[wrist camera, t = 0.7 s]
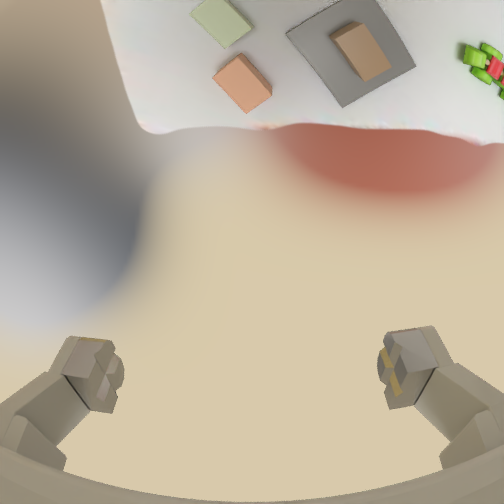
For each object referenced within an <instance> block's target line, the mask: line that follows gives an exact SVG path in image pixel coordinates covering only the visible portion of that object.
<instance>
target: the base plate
mask: <svg viewBox="0 0 504 504" xmlns="http://www.w3.org/2000/svg"><path fill="white" fill-rule="evenodd" d="M286 35H287V37H288V38H289V39H290V40H291V41H292V42H293V44H294V45H295V46H296V47H297V48H298V50H299V51H300V52H301V53H302V55H303V56H304V57H305V58H306V60H307V61H308V62H309V63H310V65H311V66H312V67H313V68H314V70H315V71H316V72H317V74H318V75H319V76H320V78H321V79H322V80H323V82H324V83H325V84H326V86H327V87H328V88H329V90H330V91H331V93H332V94H333V95H334V97H335V98H336V100H337V101H338V102H339V104H340V105H341V107H342V108H343V107H345V106H347V105H349V104H350V103H352V102H354V101H355V100H357V99H359V98H360V97H362V96H364V95H366V94H367V93H369V92H371V91H373V90H374V89H376V88H378V87H380V86H381V85H383V84H385V83H387V82H389V81H390V80H392V79H394V78H396V77H398V76H400V75H402V74H403V73H405V72H407V71H409V70H411V69H413V68H415V67H416V65H415V63H414V61H413V59H412V57H411V56H410V54H409V52H408V50H407V49H406V47H405V45H404V43H403V42H402V40H401V38H400V37H399V35H398V34H397V32H396V30H395V29H394V27H393V26H392V24H391V22H390V21H389V19H388V18H387V16H386V15H385V13H384V12H383V10H382V9H381V8H380V6H379V5H378V3H377V2H376V0H341V1H339V2H337V3H336V4H334V5H332V6H330V7H328V8H327V9H325V10H323V11H322V12H320V13H318V14H316V15H315V16H313V17H311V18H310V19H308V20H307V21H305V22H303V23H302V24H300V25H299V26H297V27H295V28H294V29H292V30H291V31H289V32H288V33H286Z"/></svg>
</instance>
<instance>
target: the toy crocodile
mask: <svg viewBox="0 0 504 504" xmlns="http://www.w3.org/2000/svg"><path fill="white" fill-rule="evenodd" d="M502 57H503V55H502V54H501V53H500V52H499V51H498V50H496V49H495V48H493V47H491V46H490V45H488V44H485V43H483V44H482V47H481V51H480V50H479V49H477V48H474V47H472V46H470V45H466V49H465V55H464V60H463V63H464V64H467V65H471V66H474V67H473V70H472V72H471V73H472V74H473V75H474V76H475V77H477V78H478V79H480V80H481V81H483V82H484V83H486V84H488V85H491V82H492V80H493V81H494V82H495V83H496V84H497V85H498V86H499V87H501V88H503V91H502V92H501V95H500V97H501V98H502V99H503V100H504V63H502V62H501V60H502Z"/></svg>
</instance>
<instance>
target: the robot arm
mask: <svg viewBox="0 0 504 504" xmlns="http://www.w3.org/2000/svg"><path fill="white" fill-rule="evenodd" d="M383 343H384V345H385V347H384V348H383V349H382V350H381V351H380V353H379V356H378V362H377V367H378V368H377V369H378V374H379V378H380V381H382V382H383V383H384V384H386V385H387V386H386V389H385V391H384V394H385V397H386V400H387V404H388V407H389V409H396V408H402V407H407V406H412V405H415V406H414V407H415V408H416V409H417V410H418V411H419V412H420V413H421V414H422V415H423V416H424V417H425V418H426V419H427V420H429V421H430V422H431V423H432V424H433V425H434V426H435V427H436V428H437V429H438V430H439V431H440V432H441V433H442V434H443V435H444V436H445V437H446V438H447V439H448V440H449V441H450V442H451V443H450V444H449V445H448V446H447V447H446V448H445V449H444V450H443V451H442V452H441V454H440V456H439V457H440V461H441V464H442V468H443V470H441V471H438V472H435V473H432V474H429V475H426V476H423V477H419V478H416V479H413V480H409V481H406V482H402V483H398V484H394V485H390V486H386V487H382V488H377V489H372V490H368V491H363V492H357V493H352V494H346V495H339V496H333V497H325V498H316V499H306V500H296V501H295V500H294V501H279V502H222V501H207V500H195V499H185V498H176V497H169V496H162V495H156V494H150V493H144V492H139V491H134V490H129V489H125V488H120V487H115V486H112V485H108V484H103V483H100V482H96V481H93V480H89V479H85V478H82V477H79V476H76V475H73V474H70V473H67V472H64V471H63V469H64V466H65V462H66V456H65V454H63V453H62V452H61V451H60V450H59V449H58V448H57V447H56V446H57V445H58V444H59V443H60V442H61V441H62V440H63V439H64V438H65V437H66V436H67V435H68V434H69V432H71V430H72V429H74V428H75V427H76V426H77V424H79V422H80V421H81V420H82V419H83V418H84V417H85V416H86V415H87V414H88V413H89V412H90V410H91V411H98V412H104V413H113V410H114V407H115V404H116V401H117V398H118V396H117V394H116V390H117V389H118V388H119V387H121V385H122V383H123V380H124V366H123V363H122V361H121V358H119V357H118V356H117V355H116V354H115V353H114V351H115V346H114V344H113V343H112V341H110V340H103V339H95V338H86V337H76V336H69V337H68V338H67V339H66V340H65V342H64V344H63V345H62V347H61V349H60V351H59V353H58V354H57V356H56V358H55V360H54V362H53V364H52V366H51V368H50V369H49V371H48V372H44V373H42V374H41V375H39V376H38V377H37V378H35V379H34V380H33V381H31V382H30V383H28V384H27V385H26V386H24V387H23V388H21V389H20V390H19V391H17V392H16V393H14V394H13V395H12V396H10V397H9V398H8V399H6V400H5V401H4V402H2V403H1V404H0V504H504V394H503V393H502V392H500V391H499V390H497V389H496V388H495V387H493V386H491V385H490V384H489V383H487V382H486V381H484V380H483V379H481V378H480V377H478V376H477V375H475V374H474V373H472V372H471V371H469V370H468V369H466V368H465V367H463V366H462V365H460V364H459V363H456V364H454V362H453V360H452V359H451V357H450V355H449V353H448V351H447V349H446V347H445V346H444V344H443V342H442V340H441V338H440V336H439V335H438V333H437V331H436V329H435V328H434V327H433V326H426V327H419V328H412V329H405V330H398V331H391V332H387V333H386V335H385V337H384V340H383Z"/></svg>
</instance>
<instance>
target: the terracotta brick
mask: <svg viewBox="0 0 504 504" xmlns="http://www.w3.org/2000/svg"><path fill="white" fill-rule="evenodd" d="M213 79H214V81H215V82H216V83H217V84H218V85H219V86H220V87H221V88H222V89H223V90H224V91H225V92H226V93H227V94H228V95H229V96H230V97H231V98H232V99H233V100H234V102H235V103H236V104H237V105H238V106H239V107H240V108H241V109H242V110H243V111H244V112H245V113H246V114H247V113H248V112H250V111H251V110H252V109H254V108H255V107H256V106H258V105H259V104H261V103H262V102H264V101H265V100H266V99H268V98H269V97H271V96H272V86H271V85H270V84H269V83H268V82H267V81H266V80H265V78H264V77H263V76H262V75H261V74H260V73H259V72H258V70H257V69H256V68H255V67H254V66H253V65H252V64H251V63H250V62H249V60H248V59H247V58H246V57H245V56H244V55H243V54H242V53H241V54H239V55H238V56H237V57H235V58H234V59H233V60H231V61H230V62H229V63H228V64H226V65H225V66H224V67H223V68H221V69H220V70H219V71H218V72H217V73H216V74H215V75H214V77H213Z"/></svg>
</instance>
